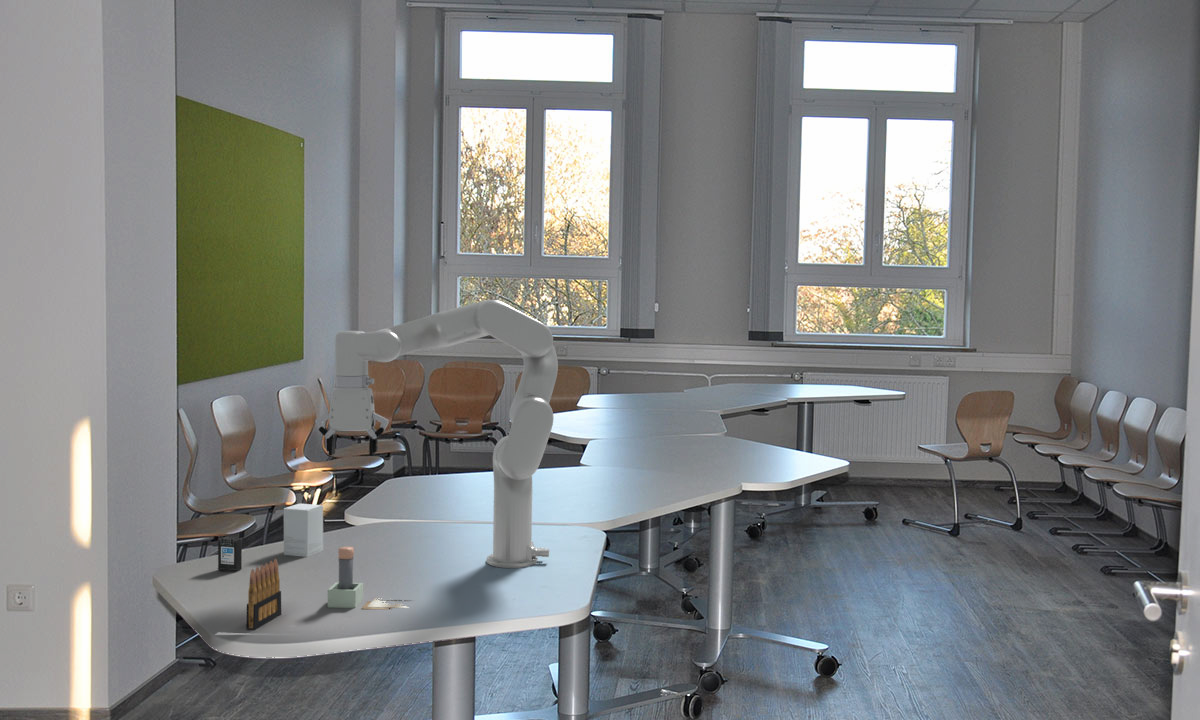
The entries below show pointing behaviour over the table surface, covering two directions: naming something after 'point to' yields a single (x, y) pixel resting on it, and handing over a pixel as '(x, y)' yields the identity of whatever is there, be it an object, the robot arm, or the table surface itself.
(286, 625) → the table surface
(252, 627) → the ammunition clip
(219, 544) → the ink cartridge
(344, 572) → the marker
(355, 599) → the green open box
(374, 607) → the writing board
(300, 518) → the supplement box
